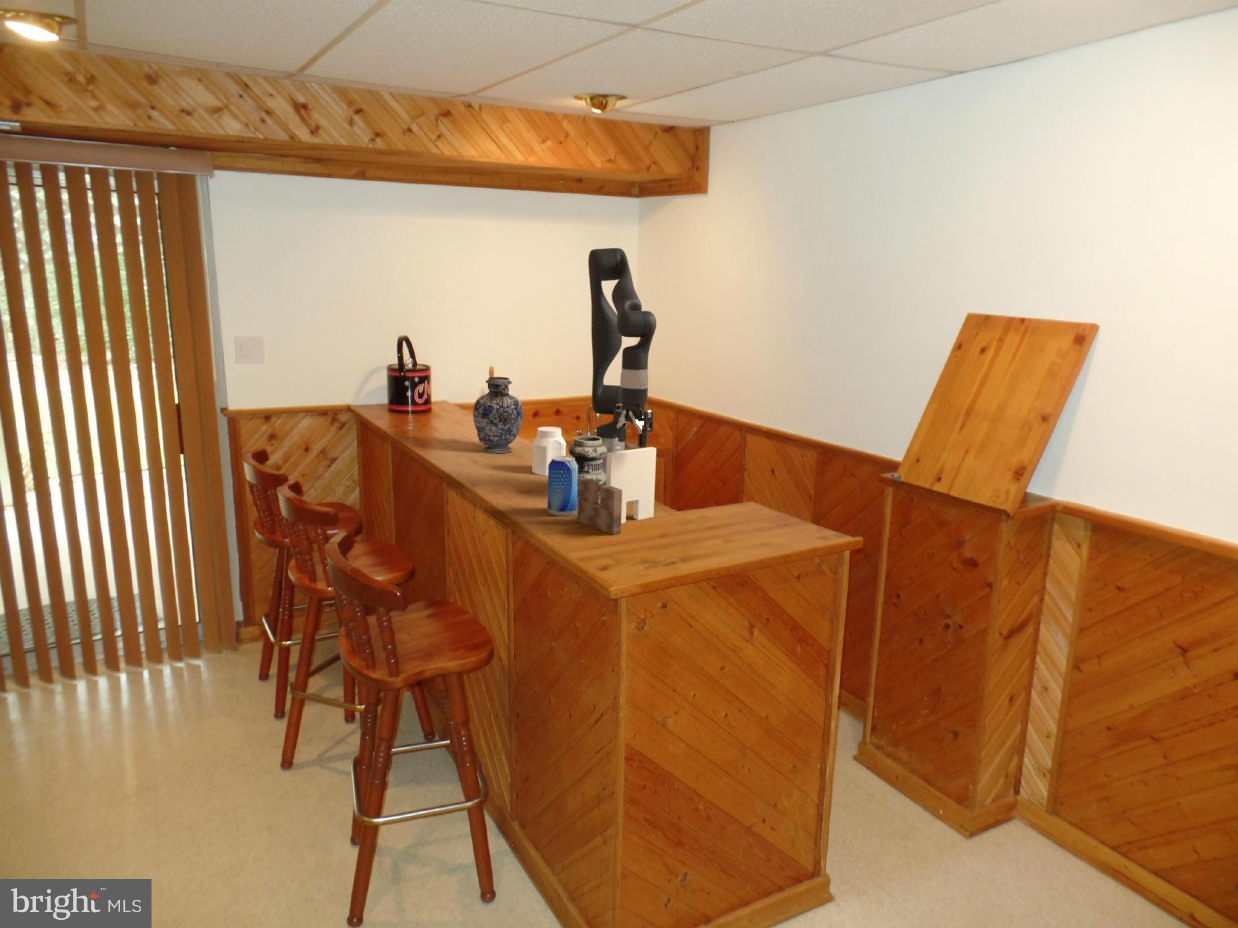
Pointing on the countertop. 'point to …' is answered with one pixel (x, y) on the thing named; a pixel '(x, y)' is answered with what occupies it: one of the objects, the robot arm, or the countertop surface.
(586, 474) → the apothecary jar
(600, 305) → the robot arm
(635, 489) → the cream plate
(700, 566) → the countertop surface
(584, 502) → the walnut notched block
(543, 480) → the countertop surface
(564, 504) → the beer can
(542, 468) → the jar
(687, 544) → the countertop surface
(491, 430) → the decorative vase
